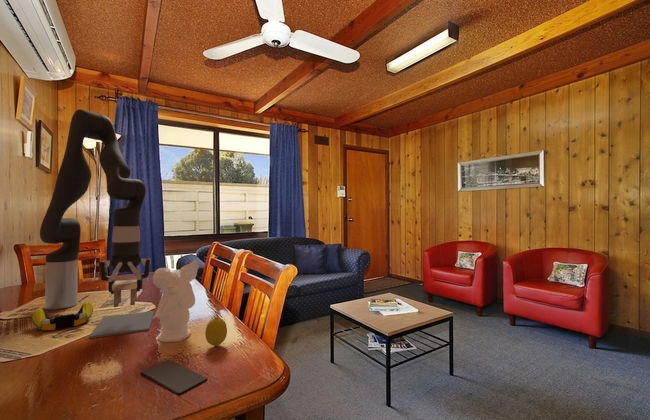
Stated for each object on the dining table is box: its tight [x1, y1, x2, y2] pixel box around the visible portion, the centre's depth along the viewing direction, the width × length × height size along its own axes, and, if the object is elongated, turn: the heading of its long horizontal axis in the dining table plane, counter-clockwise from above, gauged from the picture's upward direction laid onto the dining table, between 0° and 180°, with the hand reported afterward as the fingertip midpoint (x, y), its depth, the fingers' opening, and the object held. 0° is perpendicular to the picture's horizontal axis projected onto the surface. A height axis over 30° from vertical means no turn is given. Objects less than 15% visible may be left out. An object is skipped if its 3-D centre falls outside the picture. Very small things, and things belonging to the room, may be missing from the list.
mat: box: [88, 310, 155, 339], centre depth 98 cm, size 18×15×1 cm
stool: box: [112, 278, 138, 308], centre depth 98 cm, size 6×6×7 cm
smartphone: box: [140, 359, 208, 396], centre depth 67 cm, size 7×1×15 cm
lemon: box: [204, 316, 228, 347], centre depth 83 cm, size 6×6×8 cm
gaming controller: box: [31, 301, 94, 332], centre depth 97 cm, size 15×6×10 cm
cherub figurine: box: [152, 259, 199, 343], centre depth 91 cm, size 12×12×22 cm
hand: (125, 292), depth 98 cm, fingers closed on stool, 6 cm apart
